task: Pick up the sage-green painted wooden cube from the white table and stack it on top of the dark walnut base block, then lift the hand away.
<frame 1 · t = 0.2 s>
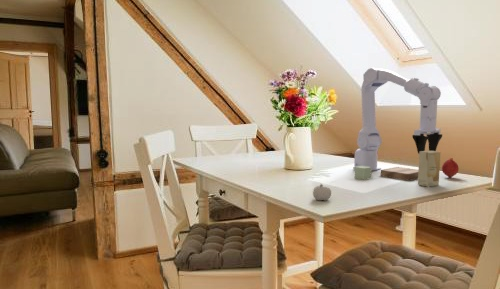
hand: (426, 153, 152), 10 cm above the table, fingers open, 7 cm apart
onion: (449, 178, 155), on the table
walnut base: (402, 176, 158), on the table
skincare box: (428, 185, 141), on the table
sage cube: (362, 178, 155), on the table
grey pumpkin: (322, 200, 120), on the table
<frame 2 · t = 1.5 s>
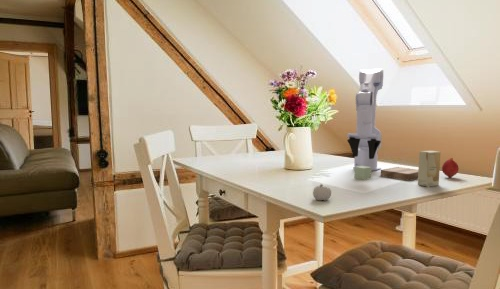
hand: (363, 157, 154), 8 cm above the table, fingers open, 7 cm apart
nothing on the table moved.
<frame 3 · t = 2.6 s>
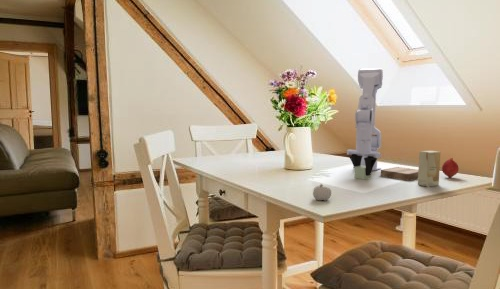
hand: (362, 174, 155), 1 cm above the table, fingers closed on sage cube, 4 cm apart
sage cube: (362, 178, 155), on the table, touching gripper
everything else where it was.
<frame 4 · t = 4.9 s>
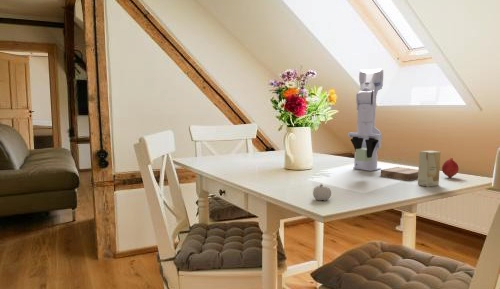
hand: (363, 156, 154), 8 cm above the table, fingers closed on sage cube, 4 cm apart
sage cube: (363, 160, 154), point 7 cm above the table, touching gripper
everything else where it was.
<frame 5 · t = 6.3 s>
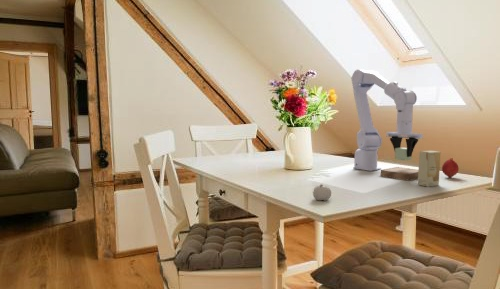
hand: (403, 155, 157), 8 cm above the table, fingers closed on sage cube, 4 cm apart
sage cube: (403, 159, 157), point 7 cm above the table, touching gripper
everything else where it was.
when the fingers open (5 cm above the table, at t = 7.5 s): sage cube stays where it is, resting on walnut base.
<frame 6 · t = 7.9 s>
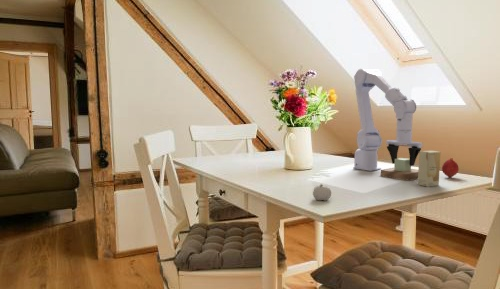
hand: (402, 164, 157), 5 cm above the table, fingers open, 7 cm apart
sage cube: (402, 170, 157), point 2 cm above the table, touching walnut base
everything else where it was.
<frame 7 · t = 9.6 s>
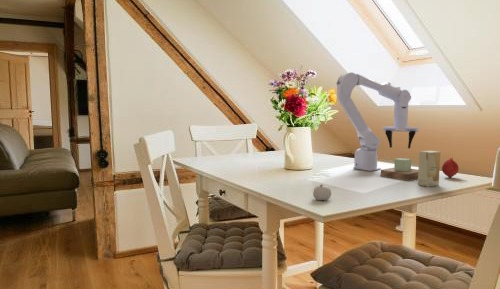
hand: (399, 147, 175), 9 cm above the table, fingers open, 7 cm apart
nothing on the table moved.
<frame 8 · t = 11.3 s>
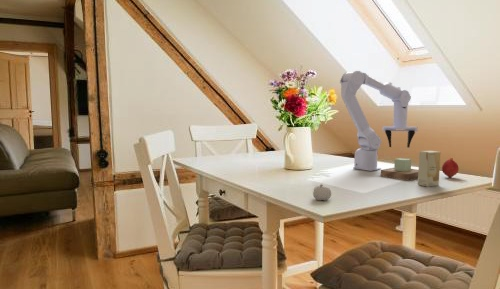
hand: (399, 147, 178), 9 cm above the table, fingers open, 7 cm apart
nothing on the table moved.
at the end: sage cube inside the target area on the walnut base (0.1 cm from its centre), point 2.5 cm above the walnut base's base; sage cube touching walnut base; sage cube tilted 0° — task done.
